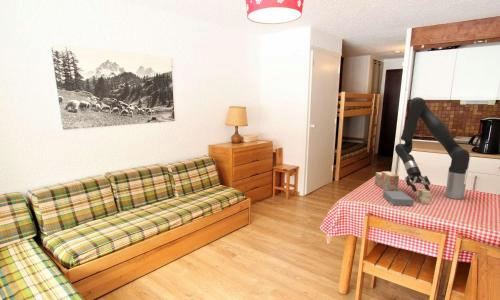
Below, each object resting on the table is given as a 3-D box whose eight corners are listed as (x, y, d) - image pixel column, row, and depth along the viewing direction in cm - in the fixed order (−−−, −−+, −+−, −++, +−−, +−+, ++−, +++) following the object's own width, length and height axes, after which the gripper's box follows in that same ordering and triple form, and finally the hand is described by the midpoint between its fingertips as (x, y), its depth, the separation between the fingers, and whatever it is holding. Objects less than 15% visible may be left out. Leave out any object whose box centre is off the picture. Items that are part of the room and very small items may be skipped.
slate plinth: (401, 197, 184) (402, 191, 183) (413, 206, 168) (413, 199, 167) (382, 196, 185) (383, 190, 184) (392, 205, 169) (393, 199, 168)
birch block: (416, 201, 176) (417, 189, 175) (423, 201, 176) (425, 189, 175) (421, 204, 171) (423, 191, 170) (429, 203, 172) (430, 191, 170)
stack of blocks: (374, 183, 214) (375, 168, 212) (382, 183, 214) (383, 168, 212) (388, 192, 193) (390, 175, 191) (397, 192, 193) (399, 175, 191)
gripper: (405, 166, 180) (414, 188, 171) (425, 166, 181) (436, 188, 172) (399, 172, 186) (408, 193, 177) (419, 171, 187) (429, 193, 178)
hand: (422, 191), depth 174 cm, fingers open, 8 cm apart
